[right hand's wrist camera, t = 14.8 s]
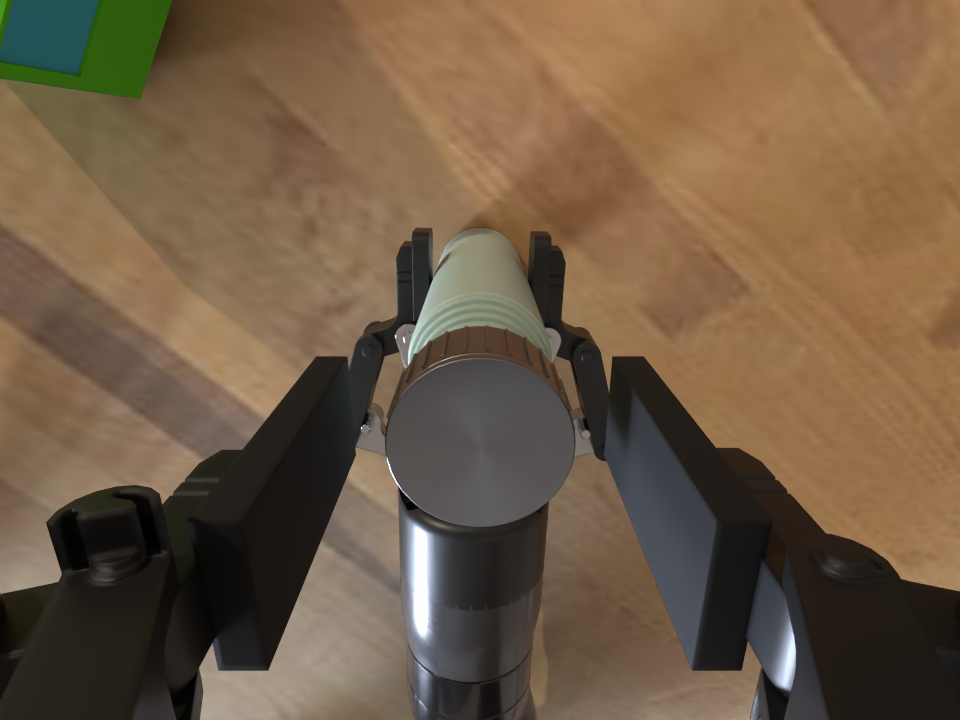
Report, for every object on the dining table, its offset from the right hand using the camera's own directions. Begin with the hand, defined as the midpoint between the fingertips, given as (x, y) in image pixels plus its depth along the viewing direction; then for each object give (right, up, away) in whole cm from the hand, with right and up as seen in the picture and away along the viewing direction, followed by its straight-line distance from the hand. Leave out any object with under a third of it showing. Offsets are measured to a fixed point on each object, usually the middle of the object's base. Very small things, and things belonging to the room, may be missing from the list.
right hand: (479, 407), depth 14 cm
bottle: (0, +6, +17) cm, 18 cm away
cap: (0, -1, -2) cm, 2 cm away
